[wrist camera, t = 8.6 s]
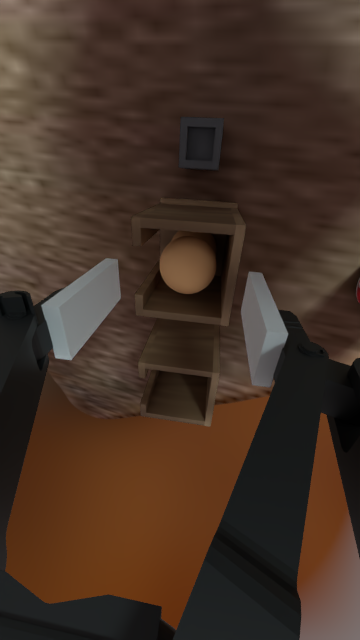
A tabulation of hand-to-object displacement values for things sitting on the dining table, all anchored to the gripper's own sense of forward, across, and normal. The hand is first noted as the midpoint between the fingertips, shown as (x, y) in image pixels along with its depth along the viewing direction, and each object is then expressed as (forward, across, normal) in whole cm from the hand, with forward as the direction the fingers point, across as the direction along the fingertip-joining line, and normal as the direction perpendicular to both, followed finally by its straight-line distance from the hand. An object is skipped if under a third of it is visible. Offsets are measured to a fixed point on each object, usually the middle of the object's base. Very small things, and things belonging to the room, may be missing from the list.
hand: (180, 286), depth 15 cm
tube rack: (+12, 0, -6) cm, 13 cm away
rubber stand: (+12, 0, +8) cm, 14 cm away
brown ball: (+6, 0, 0) cm, 6 cm away
